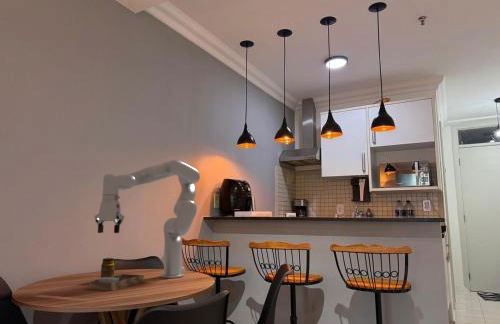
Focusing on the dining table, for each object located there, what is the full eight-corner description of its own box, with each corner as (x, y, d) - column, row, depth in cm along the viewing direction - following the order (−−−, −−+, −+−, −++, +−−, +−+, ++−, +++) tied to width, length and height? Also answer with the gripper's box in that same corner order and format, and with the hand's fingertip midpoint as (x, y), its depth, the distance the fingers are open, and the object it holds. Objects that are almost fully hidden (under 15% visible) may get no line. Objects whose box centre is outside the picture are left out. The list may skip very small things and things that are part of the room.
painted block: (104, 285, 165) (104, 277, 166) (118, 287, 163) (119, 277, 163) (98, 287, 162) (98, 278, 162) (112, 288, 159) (113, 279, 160)
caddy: (121, 282, 180) (121, 273, 181) (143, 283, 176) (143, 275, 177) (88, 290, 160) (89, 281, 160) (112, 292, 155) (113, 283, 156)
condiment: (117, 282, 180) (118, 257, 181) (104, 285, 172) (105, 259, 174) (106, 281, 182) (107, 257, 184) (93, 284, 175) (94, 259, 177)
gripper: (129, 198, 183) (127, 232, 180) (101, 199, 188) (99, 232, 186) (119, 197, 176) (118, 233, 173) (90, 198, 181) (88, 233, 179)
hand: (108, 232), depth 179 cm, fingers open, 9 cm apart
